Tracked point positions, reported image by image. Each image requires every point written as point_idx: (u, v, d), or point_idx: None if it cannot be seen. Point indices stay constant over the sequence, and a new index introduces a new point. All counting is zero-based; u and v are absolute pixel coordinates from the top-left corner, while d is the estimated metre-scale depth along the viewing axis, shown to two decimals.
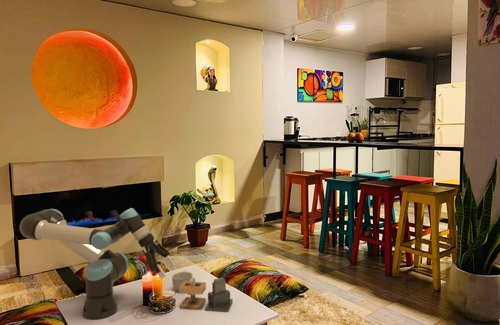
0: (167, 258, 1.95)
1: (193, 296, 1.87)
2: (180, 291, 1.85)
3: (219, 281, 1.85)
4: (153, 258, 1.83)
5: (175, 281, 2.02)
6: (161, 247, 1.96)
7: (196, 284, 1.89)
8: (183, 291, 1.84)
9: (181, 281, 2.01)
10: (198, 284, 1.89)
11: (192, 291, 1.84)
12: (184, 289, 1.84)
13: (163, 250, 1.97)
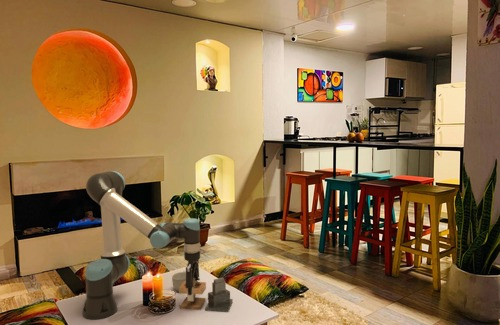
0: None
1: (193, 296, 1.87)
2: (180, 291, 1.85)
3: (219, 281, 1.85)
4: None
5: (175, 281, 2.02)
6: (197, 268, 1.92)
7: (196, 284, 1.89)
8: (183, 291, 1.84)
9: (181, 281, 2.01)
10: (198, 284, 1.89)
11: None
12: (184, 289, 1.84)
13: (196, 272, 1.93)
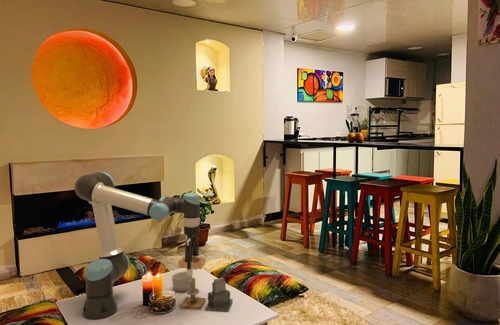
0: None
1: (193, 296, 1.87)
2: (179, 265, 1.84)
3: (219, 281, 1.85)
4: None
5: (175, 281, 2.02)
6: (196, 243, 1.91)
7: (195, 259, 1.88)
8: (182, 265, 1.83)
9: (181, 281, 2.01)
10: (197, 259, 1.88)
11: None
12: (183, 264, 1.83)
13: None
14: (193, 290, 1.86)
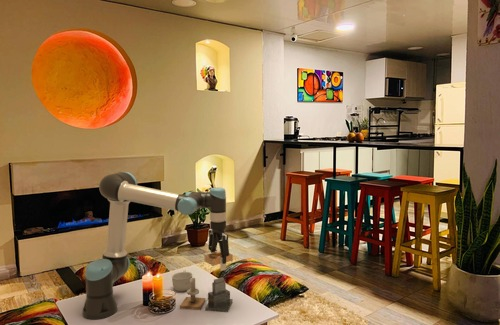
0: None
1: (193, 296, 1.87)
2: (213, 263, 1.79)
3: (219, 281, 1.85)
4: None
5: (175, 281, 2.02)
6: None
7: (218, 254, 1.87)
8: (216, 262, 1.79)
9: (181, 281, 2.01)
10: (220, 254, 1.87)
11: None
12: (217, 260, 1.80)
13: None
14: (193, 290, 1.86)
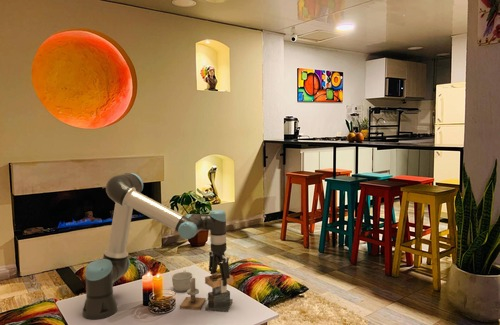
0: None
1: (193, 296, 1.87)
2: (214, 285, 1.79)
3: None
4: None
5: (175, 281, 2.02)
6: None
7: (219, 276, 1.87)
8: (217, 284, 1.80)
9: (181, 281, 2.01)
10: None
11: None
12: (217, 282, 1.80)
13: None
14: (193, 290, 1.86)
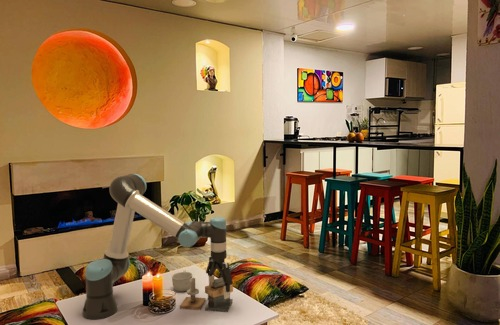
0: (212, 278, 1.91)
1: (193, 296, 1.87)
2: (214, 295, 1.80)
3: (219, 281, 1.85)
4: None
5: (175, 281, 2.02)
6: None
7: None
8: (217, 294, 1.81)
9: (181, 281, 2.01)
10: None
11: None
12: (217, 292, 1.81)
13: (211, 268, 1.91)
14: (193, 290, 1.86)
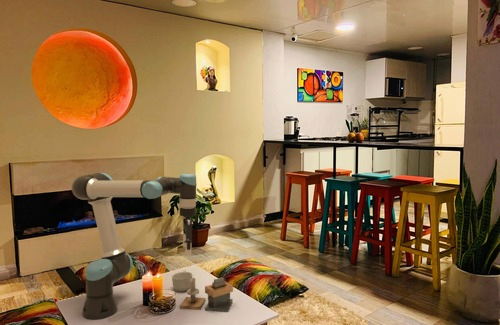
0: None
1: (193, 296, 1.87)
2: (214, 295, 1.80)
3: (219, 281, 1.85)
4: None
5: (175, 281, 2.02)
6: None
7: None
8: (217, 294, 1.81)
9: (181, 281, 2.01)
10: None
11: (224, 291, 1.83)
12: (217, 292, 1.81)
13: None
14: (193, 290, 1.86)
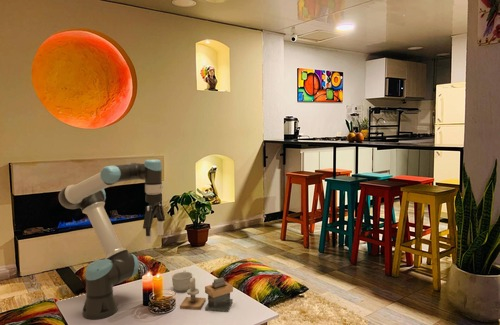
0: (160, 223, 1.85)
1: (193, 296, 1.87)
2: (214, 295, 1.80)
3: (219, 281, 1.85)
4: (150, 220, 1.72)
5: (175, 281, 2.02)
6: (161, 210, 1.84)
7: None
8: (217, 294, 1.81)
9: (181, 281, 2.01)
10: None
11: (224, 291, 1.83)
12: (217, 292, 1.81)
13: (161, 213, 1.86)
14: (193, 290, 1.86)
